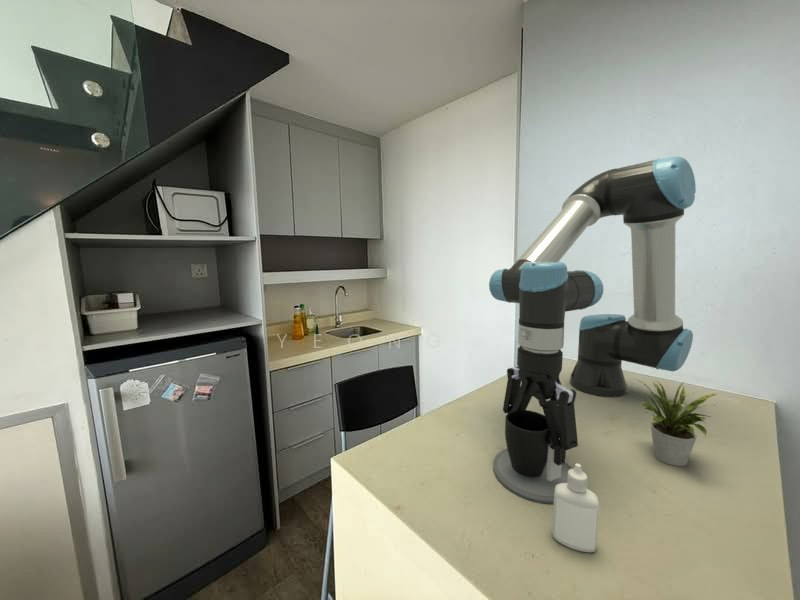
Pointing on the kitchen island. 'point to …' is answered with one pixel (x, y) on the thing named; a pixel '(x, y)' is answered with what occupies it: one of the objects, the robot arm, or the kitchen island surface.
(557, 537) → the eye dropper bottle
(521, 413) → the mug
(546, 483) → the round gray plate
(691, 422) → the house plant
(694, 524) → the kitchen island surface
